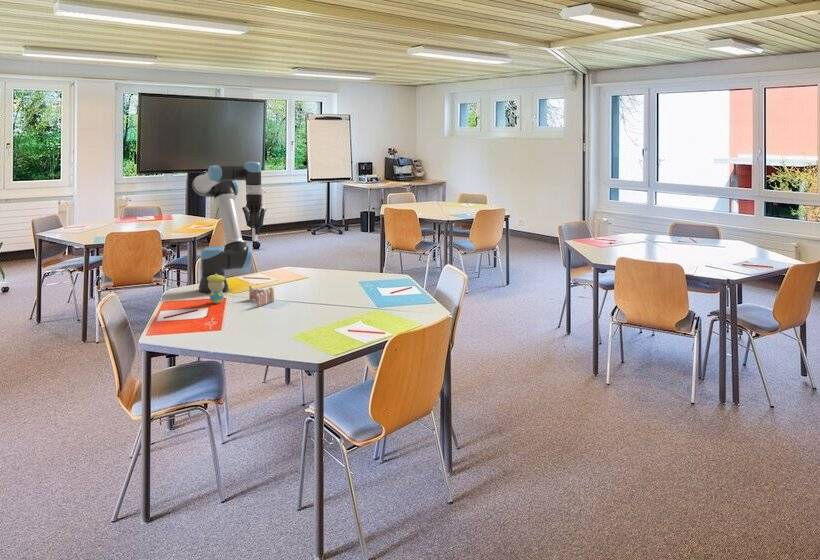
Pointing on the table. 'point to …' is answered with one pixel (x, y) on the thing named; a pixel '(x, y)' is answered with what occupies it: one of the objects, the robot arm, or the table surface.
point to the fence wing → (263, 298)
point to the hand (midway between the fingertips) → (255, 240)
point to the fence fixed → (256, 291)
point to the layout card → (269, 304)
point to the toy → (216, 287)
